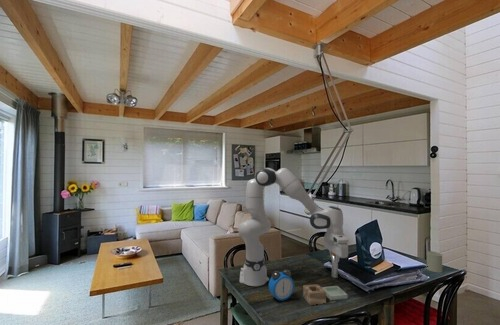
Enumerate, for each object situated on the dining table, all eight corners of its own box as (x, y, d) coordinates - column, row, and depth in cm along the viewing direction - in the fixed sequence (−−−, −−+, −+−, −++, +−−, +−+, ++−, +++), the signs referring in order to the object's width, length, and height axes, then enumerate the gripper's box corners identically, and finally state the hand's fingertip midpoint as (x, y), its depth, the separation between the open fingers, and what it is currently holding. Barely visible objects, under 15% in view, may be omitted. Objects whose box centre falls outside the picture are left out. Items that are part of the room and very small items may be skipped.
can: (437, 267, 181) (437, 250, 181) (445, 273, 172) (445, 255, 172) (423, 266, 182) (423, 250, 182) (431, 272, 173) (431, 254, 173)
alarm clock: (273, 303, 131) (273, 274, 132) (267, 297, 137) (268, 270, 137) (294, 298, 137) (294, 271, 137) (288, 293, 142) (288, 266, 142)
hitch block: (302, 296, 139) (303, 285, 139) (317, 294, 141) (317, 284, 141) (310, 305, 130) (310, 293, 130) (325, 303, 132) (326, 292, 132)
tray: (321, 291, 145) (321, 287, 145) (337, 289, 147) (337, 285, 147) (330, 300, 135) (330, 296, 135) (347, 298, 137) (347, 294, 137)
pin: (330, 275, 142) (330, 250, 142) (335, 275, 143) (335, 250, 143) (333, 278, 139) (333, 252, 139) (338, 277, 139) (338, 252, 140)
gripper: (320, 231, 150) (320, 254, 150) (339, 241, 130) (339, 267, 130) (330, 230, 152) (330, 253, 152) (350, 240, 132) (350, 267, 132)
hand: (334, 260), depth 141 cm, fingers closed on pin, 3 cm apart
